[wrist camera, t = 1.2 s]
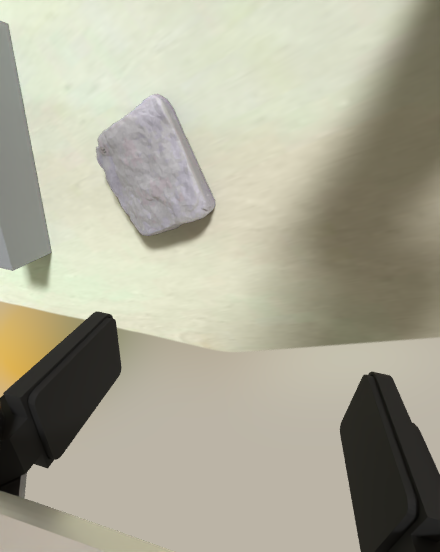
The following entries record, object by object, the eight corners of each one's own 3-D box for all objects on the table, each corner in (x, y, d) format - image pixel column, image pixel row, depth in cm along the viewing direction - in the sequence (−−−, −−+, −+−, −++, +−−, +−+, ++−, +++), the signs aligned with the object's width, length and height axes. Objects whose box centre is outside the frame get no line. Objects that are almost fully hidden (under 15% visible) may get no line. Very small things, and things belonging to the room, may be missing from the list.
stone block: (162, 233, 34) (226, 205, 29) (137, 248, 31) (206, 218, 25) (112, 140, 31) (174, 88, 26) (78, 143, 27) (143, 83, 22)
